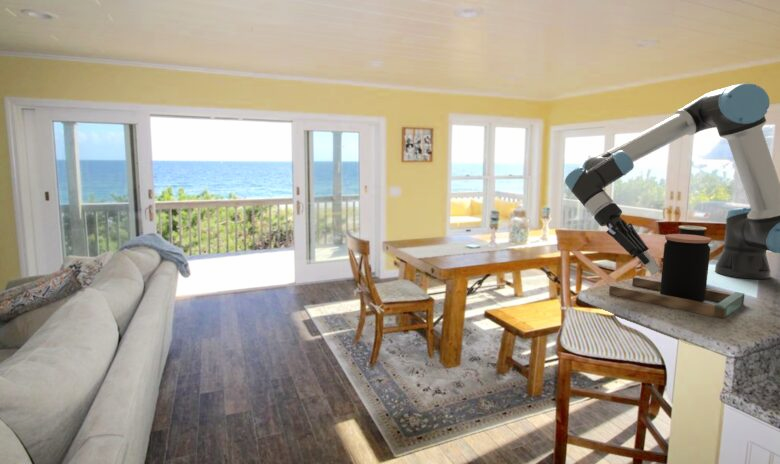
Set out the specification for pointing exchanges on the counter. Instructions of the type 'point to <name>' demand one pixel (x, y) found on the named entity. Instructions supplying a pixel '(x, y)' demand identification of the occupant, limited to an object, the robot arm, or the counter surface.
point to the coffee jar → (685, 266)
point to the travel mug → (692, 230)
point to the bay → (721, 310)
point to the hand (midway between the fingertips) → (657, 271)
